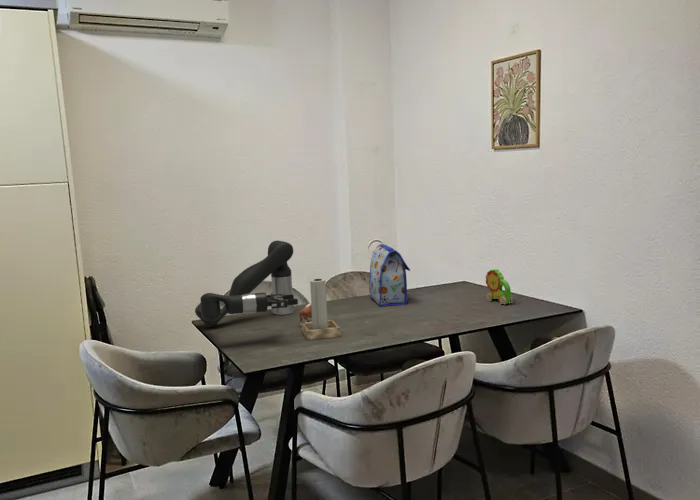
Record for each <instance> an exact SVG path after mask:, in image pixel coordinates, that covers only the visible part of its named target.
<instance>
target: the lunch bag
mask: <svg viewBox="0 0 700 500" xmlns="http://www.w3.org/2000/svg"><path fill="white" fill-rule="evenodd" d="M407 271H409V272H410V271H411V269H410V267H409V266H408V265H407V263H406V260H404V258H403V256H402V254H401V253H400V252H399V251H398V250H395V249H394V248H393V247H391V246H388V245H387V244H385V243H384V244H378V245H377V246H376V247H375V249H374V250H373V251H372V254H371V260H370V267H369V292H368V293H369V297H371V298H372V299H373V300H374V301H375V303H376V304H378V305H379V307H388V306H402V305H407V303H408V288H407V287H408V283H407V282H408V281H407Z"/></svg>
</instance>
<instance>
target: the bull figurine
mask: <svg viewBox="0 0 700 500" xmlns="http://www.w3.org/2000/svg"><path fill="white" fill-rule="evenodd" d="M298 314H299V323H300V324H299V326H300V327H302V324H301V323H303V322H304V323H308V322H312V307H311V302H308V303H307V305H306V306H304V307H303V308H302V309H301V310H300V312H299V313H298ZM308 318H309V321H308Z"/></svg>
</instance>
